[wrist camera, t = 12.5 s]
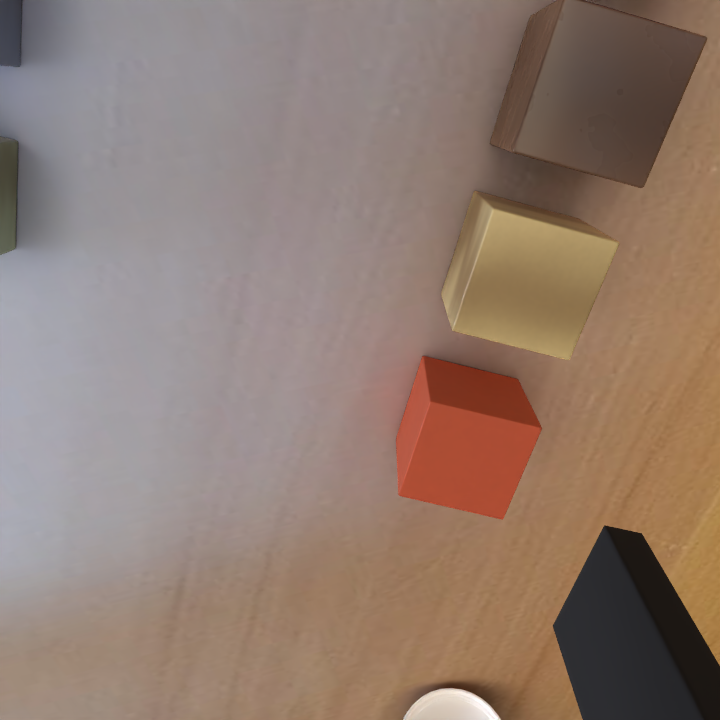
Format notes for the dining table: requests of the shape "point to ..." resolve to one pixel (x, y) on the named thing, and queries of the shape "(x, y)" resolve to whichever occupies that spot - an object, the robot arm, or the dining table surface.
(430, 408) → the block
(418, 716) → the spread jar
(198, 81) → the dining table surface
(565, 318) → the row of colored cubes
